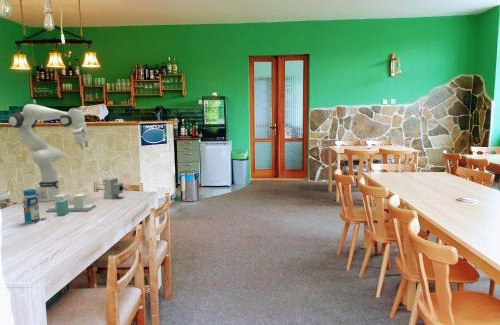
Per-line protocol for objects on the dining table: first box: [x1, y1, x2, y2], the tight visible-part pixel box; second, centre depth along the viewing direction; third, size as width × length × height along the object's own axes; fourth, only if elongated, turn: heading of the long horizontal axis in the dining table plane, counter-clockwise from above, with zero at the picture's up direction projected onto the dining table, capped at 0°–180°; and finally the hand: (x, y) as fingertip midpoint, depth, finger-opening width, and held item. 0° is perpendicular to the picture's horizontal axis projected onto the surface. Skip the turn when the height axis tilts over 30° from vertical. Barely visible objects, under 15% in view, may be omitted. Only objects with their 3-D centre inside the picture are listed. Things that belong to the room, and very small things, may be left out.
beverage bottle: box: [22, 188, 41, 224], centre depth 243 cm, size 8×8×20 cm
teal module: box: [56, 199, 70, 217], centre depth 260 cm, size 5×6×9 cm
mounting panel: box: [45, 193, 97, 213], centre depth 273 cm, size 28×14×10 cm, turn 91°
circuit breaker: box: [102, 177, 125, 200], centre depth 307 cm, size 8×14×15 cm, turn 78°
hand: (84, 148), depth 294 cm, fingers open, 8 cm apart
